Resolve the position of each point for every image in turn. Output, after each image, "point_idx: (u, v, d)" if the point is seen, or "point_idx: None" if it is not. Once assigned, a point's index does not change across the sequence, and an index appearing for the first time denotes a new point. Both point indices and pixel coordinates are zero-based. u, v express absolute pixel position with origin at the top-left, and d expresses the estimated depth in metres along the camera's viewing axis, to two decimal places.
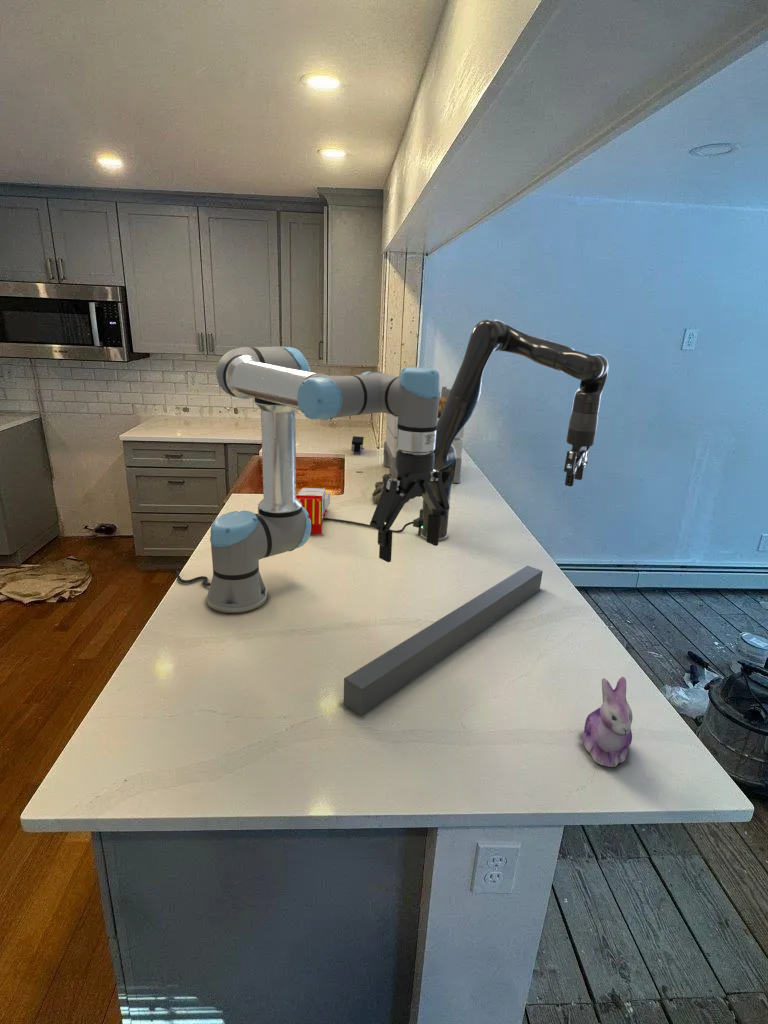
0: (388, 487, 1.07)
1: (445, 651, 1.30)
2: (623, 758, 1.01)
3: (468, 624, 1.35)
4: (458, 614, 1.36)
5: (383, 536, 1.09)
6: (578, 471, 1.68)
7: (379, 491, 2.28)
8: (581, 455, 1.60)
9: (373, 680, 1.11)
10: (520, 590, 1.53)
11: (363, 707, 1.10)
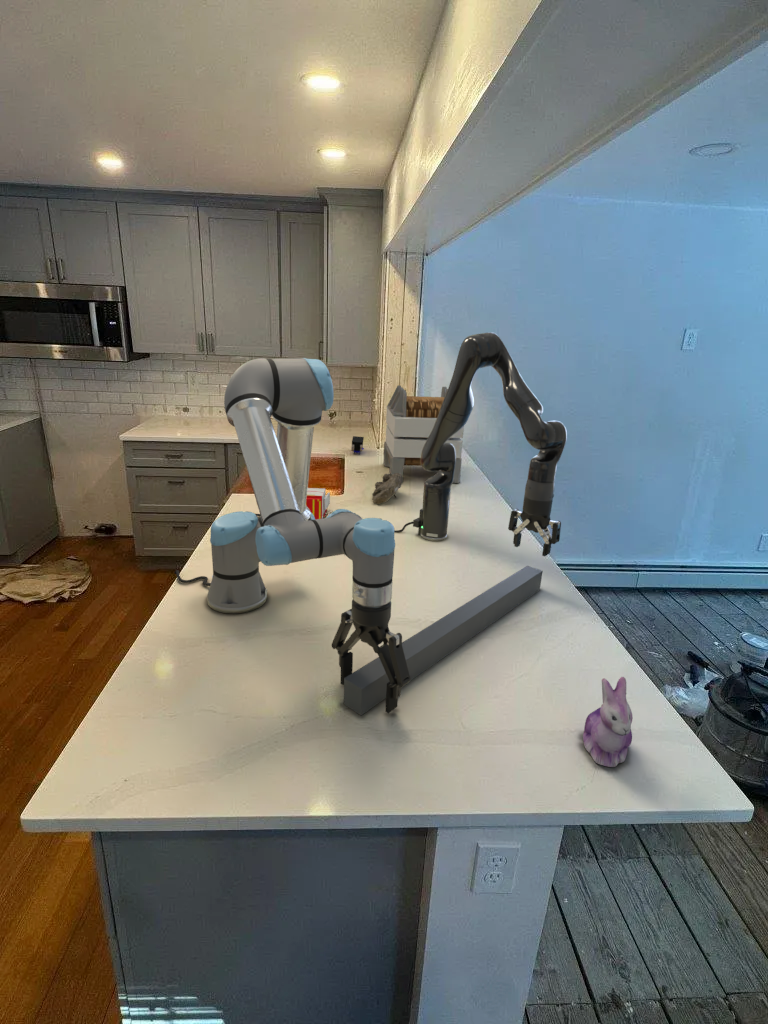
0: None
1: (445, 651, 1.30)
2: (623, 758, 1.01)
3: (468, 624, 1.35)
4: (458, 614, 1.36)
5: (339, 657, 1.17)
6: (519, 538, 1.59)
7: (379, 491, 2.28)
8: None
9: (373, 680, 1.11)
10: (520, 590, 1.53)
11: (363, 707, 1.10)
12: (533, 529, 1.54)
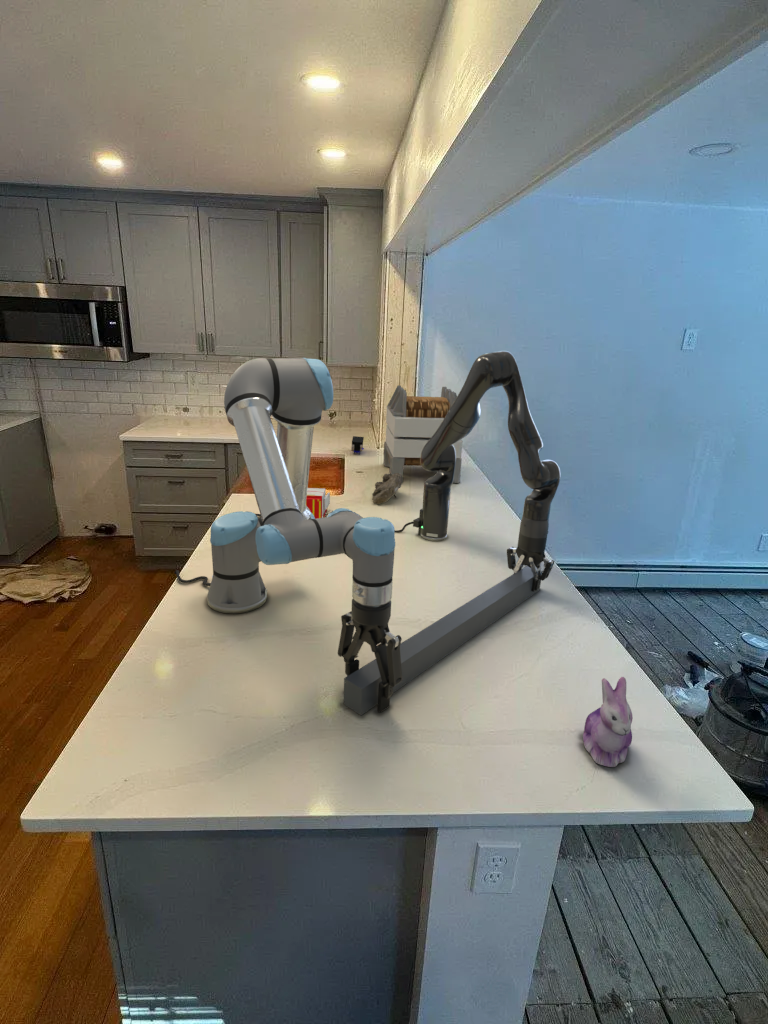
0: None
1: (445, 651, 1.30)
2: (623, 758, 1.01)
3: (468, 624, 1.35)
4: (458, 614, 1.36)
5: (346, 665, 1.16)
6: None
7: (379, 491, 2.28)
8: None
9: (373, 680, 1.11)
10: (520, 590, 1.53)
11: (363, 707, 1.10)
12: (528, 564, 1.58)
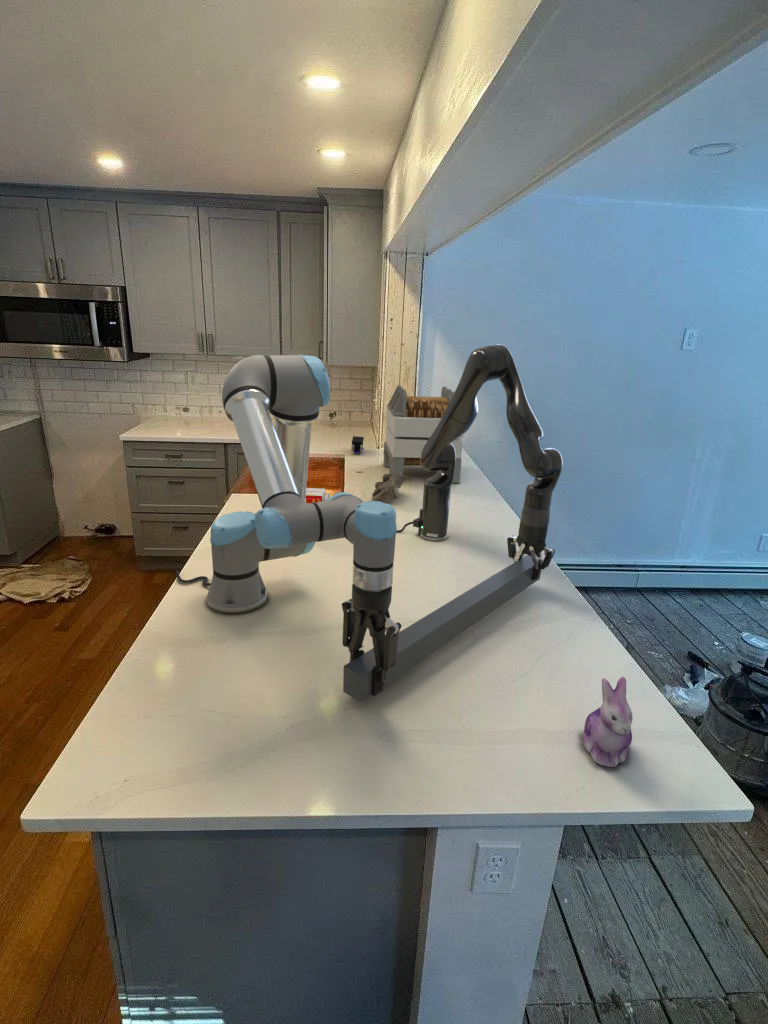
0: None
1: (445, 639, 1.29)
2: (623, 758, 1.01)
3: (468, 613, 1.34)
4: (458, 603, 1.36)
5: (350, 655, 1.14)
6: None
7: (379, 491, 2.28)
8: None
9: None
10: (520, 578, 1.53)
11: (363, 695, 1.10)
12: (528, 553, 1.57)
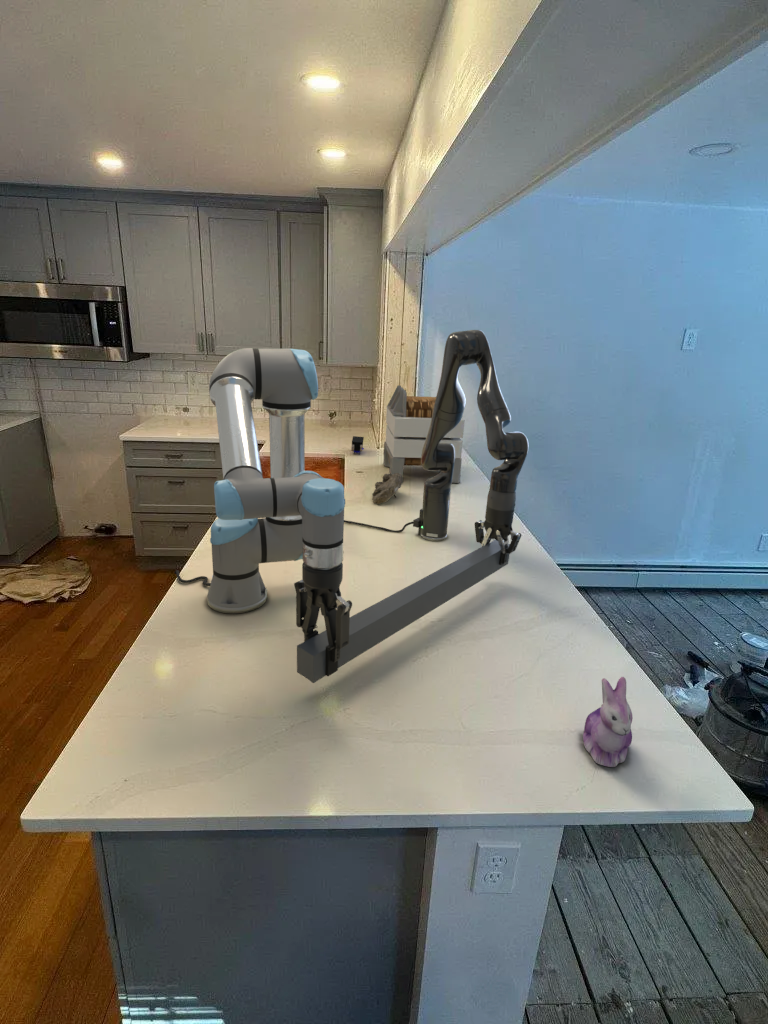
0: None
1: (405, 621, 1.29)
2: (623, 758, 1.01)
3: (429, 595, 1.34)
4: (420, 585, 1.35)
5: (304, 636, 1.14)
6: None
7: (379, 491, 2.28)
8: None
9: None
10: (486, 562, 1.52)
11: (315, 674, 1.09)
12: (495, 537, 1.57)
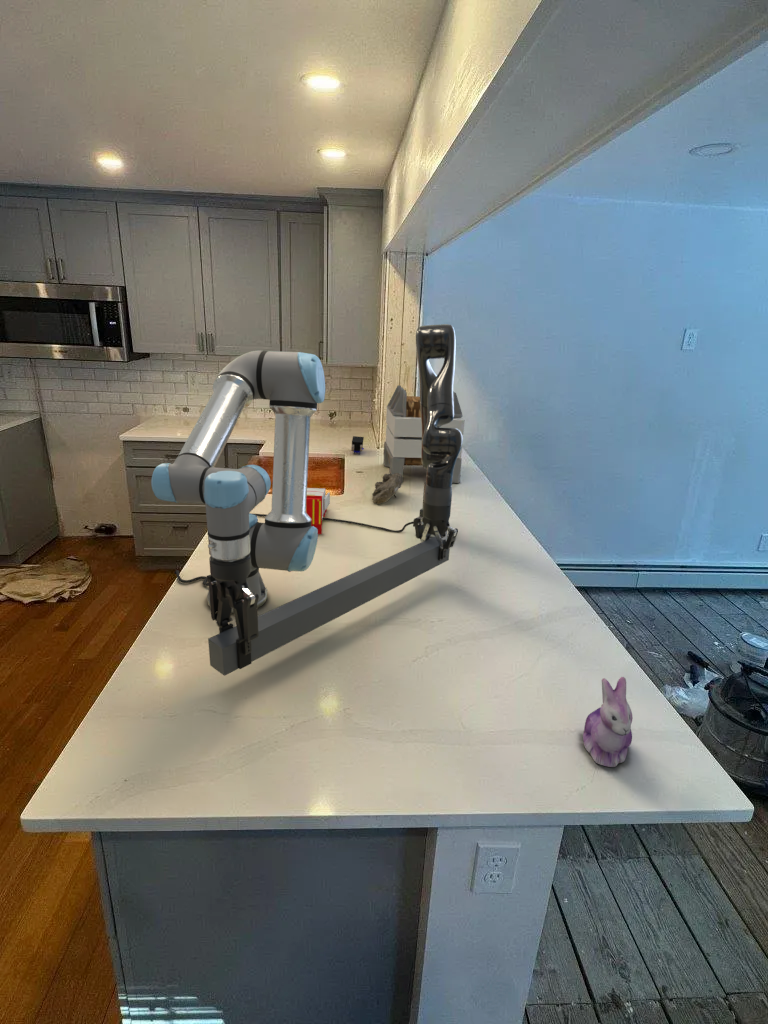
0: None
1: (329, 616, 1.29)
2: (623, 758, 1.01)
3: (356, 590, 1.34)
4: (348, 580, 1.35)
5: None
6: None
7: (379, 491, 2.28)
8: None
9: None
10: (423, 558, 1.52)
11: (226, 667, 1.09)
12: (433, 533, 1.57)
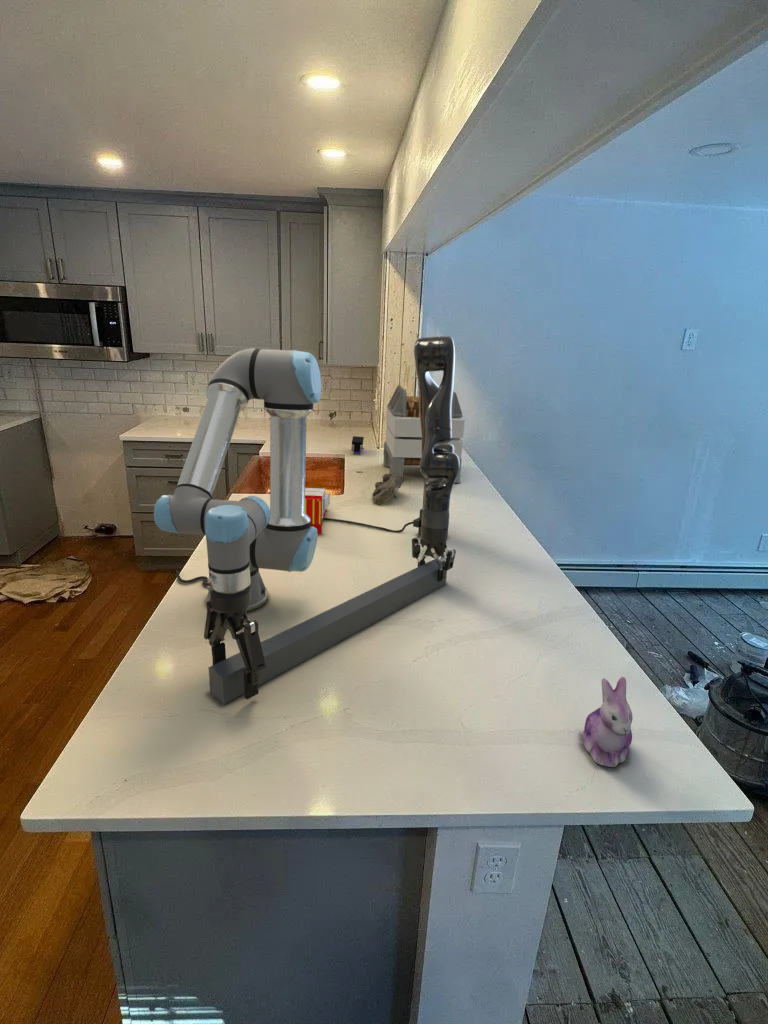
0: None
1: (328, 642, 1.31)
2: (623, 758, 1.01)
3: (354, 616, 1.36)
4: (346, 606, 1.37)
5: (212, 648, 1.17)
6: None
7: (379, 491, 2.28)
8: None
9: (237, 669, 1.12)
10: (420, 583, 1.54)
11: (226, 696, 1.11)
12: (431, 555, 1.59)
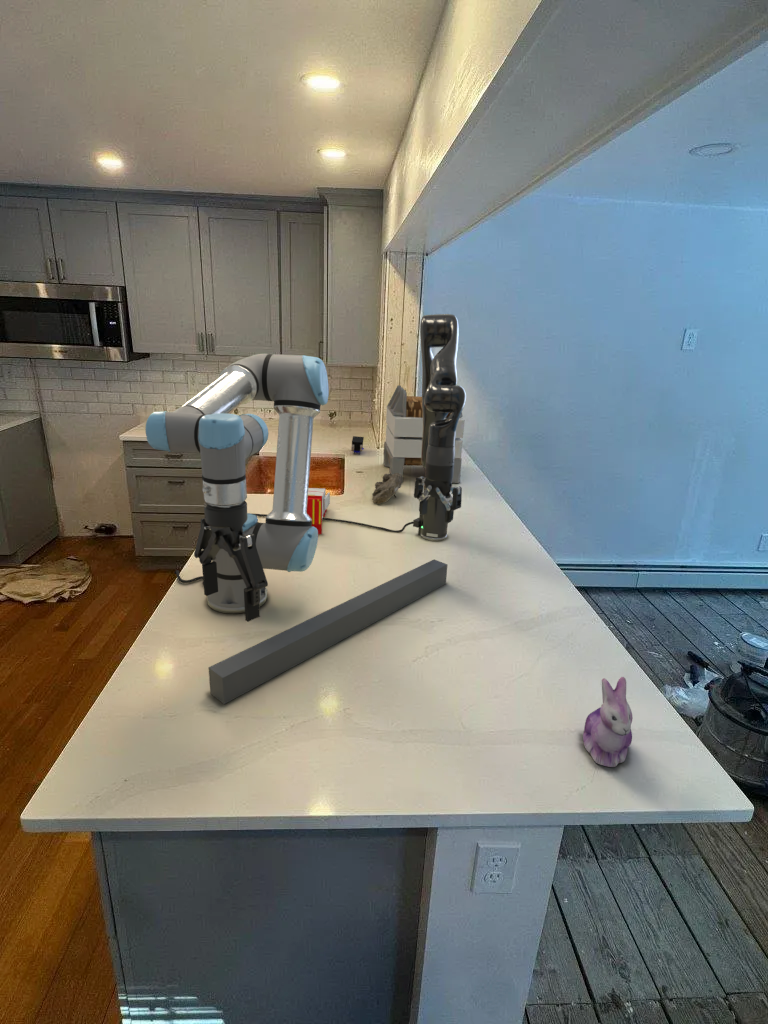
0: None
1: (328, 642, 1.31)
2: (623, 758, 1.01)
3: (354, 616, 1.36)
4: (346, 606, 1.37)
5: None
6: (424, 506, 1.58)
7: (379, 491, 2.28)
8: None
9: (237, 669, 1.12)
10: (420, 583, 1.54)
11: (226, 696, 1.11)
12: (436, 496, 1.53)
